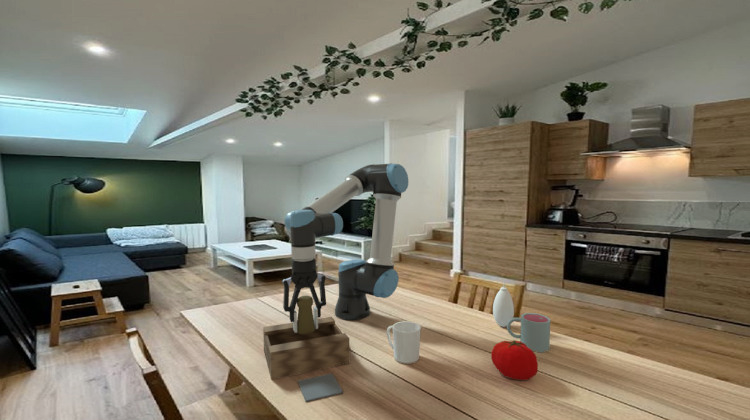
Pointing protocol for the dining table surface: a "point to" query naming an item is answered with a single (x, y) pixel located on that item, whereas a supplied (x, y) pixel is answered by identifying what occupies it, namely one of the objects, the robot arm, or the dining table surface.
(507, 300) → the sauce bottle
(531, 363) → the tomato
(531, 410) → the dining table surface
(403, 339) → the mug
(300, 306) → the cork
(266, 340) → the walnut box
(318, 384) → the grey pad
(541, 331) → the mug
